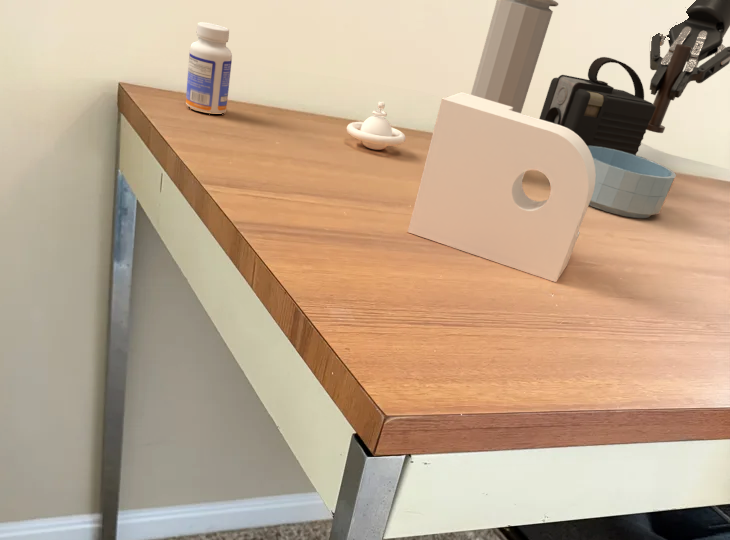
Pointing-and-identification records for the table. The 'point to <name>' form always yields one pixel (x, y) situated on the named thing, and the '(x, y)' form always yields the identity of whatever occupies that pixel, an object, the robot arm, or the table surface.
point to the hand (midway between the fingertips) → (662, 93)
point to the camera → (599, 109)
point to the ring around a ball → (376, 131)
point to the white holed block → (503, 186)
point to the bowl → (629, 183)
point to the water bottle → (512, 51)
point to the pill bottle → (209, 69)
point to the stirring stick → (668, 86)
